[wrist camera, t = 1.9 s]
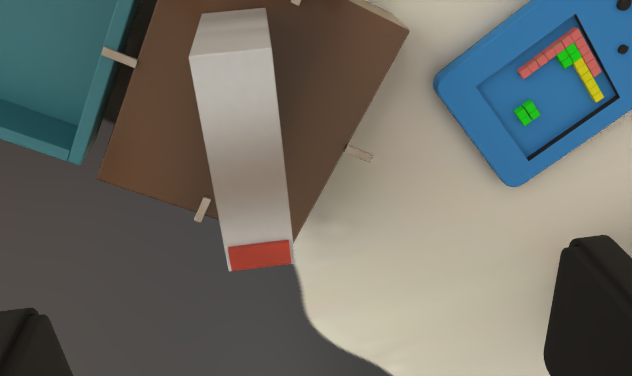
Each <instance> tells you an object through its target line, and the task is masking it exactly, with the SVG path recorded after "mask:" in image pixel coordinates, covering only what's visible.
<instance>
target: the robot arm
mask: <svg viewBox="0 0 632 376" xmlns="http://www.w3.org/2000/svg"><path fill="white" fill-rule="evenodd" d="M544 361H545V365H546V368H547V370H548V372H549V374H550V375H551V376H632V258H631V257H630V256H629V255H628V254H627V253H626V252H625V251H624V250H623V249H622V248H621V247H620V246H619V245H618V244H617V243H616V242H615V241H614V240H613V239H611V238H610V237H609V236H606V235H600V236H592V237H584V238H576V239H573V240H572V241H571V242H570V245H569V247H568V248H564V249H563V250H562V252H561V256H560V262H559V267H558V273H557V279H556V284H555V290H554V296H553V301H552V307H551V313H550V318H549V324H548V330H547V335H546V341H545V347H544ZM0 376H73V374H72V372H71V370H70V367H69V365H68V362H67V360H66V358H65V355H64V353H63V350H62V348H61V346H60V343H59V341H58V339H57V336H56V334H55V332H54V329H53V327H52V324H51V322H50V320H49V318H48V317H47V316H46V315H39V314H38V312H37V311H36V310H35V309H34V308H24V309H16V310H8V311H1V312H0Z"/></svg>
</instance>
